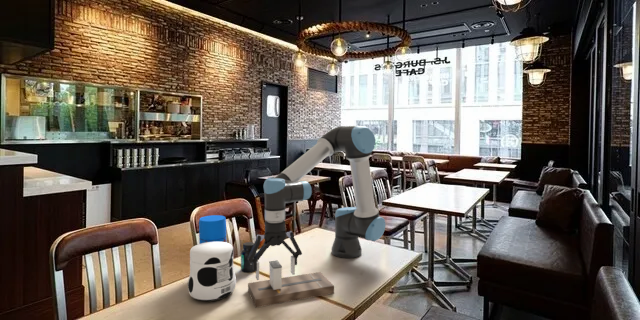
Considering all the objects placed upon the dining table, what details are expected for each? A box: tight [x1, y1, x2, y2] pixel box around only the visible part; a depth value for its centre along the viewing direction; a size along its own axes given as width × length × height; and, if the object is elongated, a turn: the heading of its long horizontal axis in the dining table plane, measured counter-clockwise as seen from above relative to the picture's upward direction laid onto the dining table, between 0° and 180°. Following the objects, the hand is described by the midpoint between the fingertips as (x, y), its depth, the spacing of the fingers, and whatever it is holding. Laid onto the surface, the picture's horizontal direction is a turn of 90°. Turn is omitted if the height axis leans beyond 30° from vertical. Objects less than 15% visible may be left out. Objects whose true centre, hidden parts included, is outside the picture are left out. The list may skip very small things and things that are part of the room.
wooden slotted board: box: [247, 271, 335, 308], centre depth 136 cm, size 30×14×3 cm, turn 112°
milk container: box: [187, 241, 237, 302], centre depth 133 cm, size 17×17×18 cm
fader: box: [268, 259, 283, 290], centre depth 133 cm, size 3×6×9 cm, turn 22°
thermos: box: [198, 214, 227, 244], centre depth 149 cm, size 11×11×25 cm
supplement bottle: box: [240, 241, 258, 274], centre depth 156 cm, size 7×7×12 cm
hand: (275, 276), depth 133 cm, fingers open, 13 cm apart
